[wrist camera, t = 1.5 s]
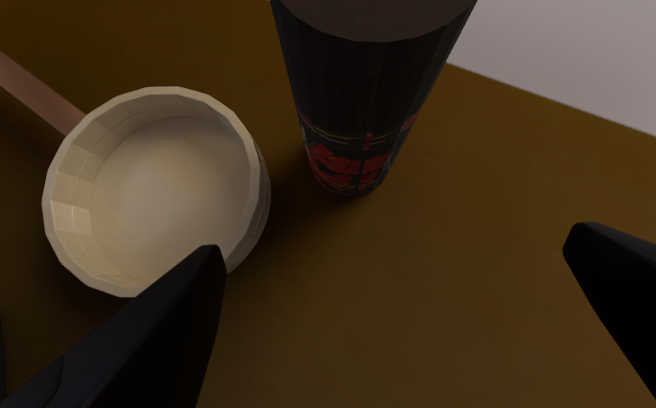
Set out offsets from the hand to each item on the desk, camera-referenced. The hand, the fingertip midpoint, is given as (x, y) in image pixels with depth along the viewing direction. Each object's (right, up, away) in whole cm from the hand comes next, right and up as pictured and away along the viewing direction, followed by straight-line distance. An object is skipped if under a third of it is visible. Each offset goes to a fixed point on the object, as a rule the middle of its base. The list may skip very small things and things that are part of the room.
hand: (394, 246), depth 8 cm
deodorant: (0, +5, +15) cm, 15 cm away
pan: (-12, +2, +14) cm, 19 cm away
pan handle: (-22, +9, +13) cm, 27 cm away
